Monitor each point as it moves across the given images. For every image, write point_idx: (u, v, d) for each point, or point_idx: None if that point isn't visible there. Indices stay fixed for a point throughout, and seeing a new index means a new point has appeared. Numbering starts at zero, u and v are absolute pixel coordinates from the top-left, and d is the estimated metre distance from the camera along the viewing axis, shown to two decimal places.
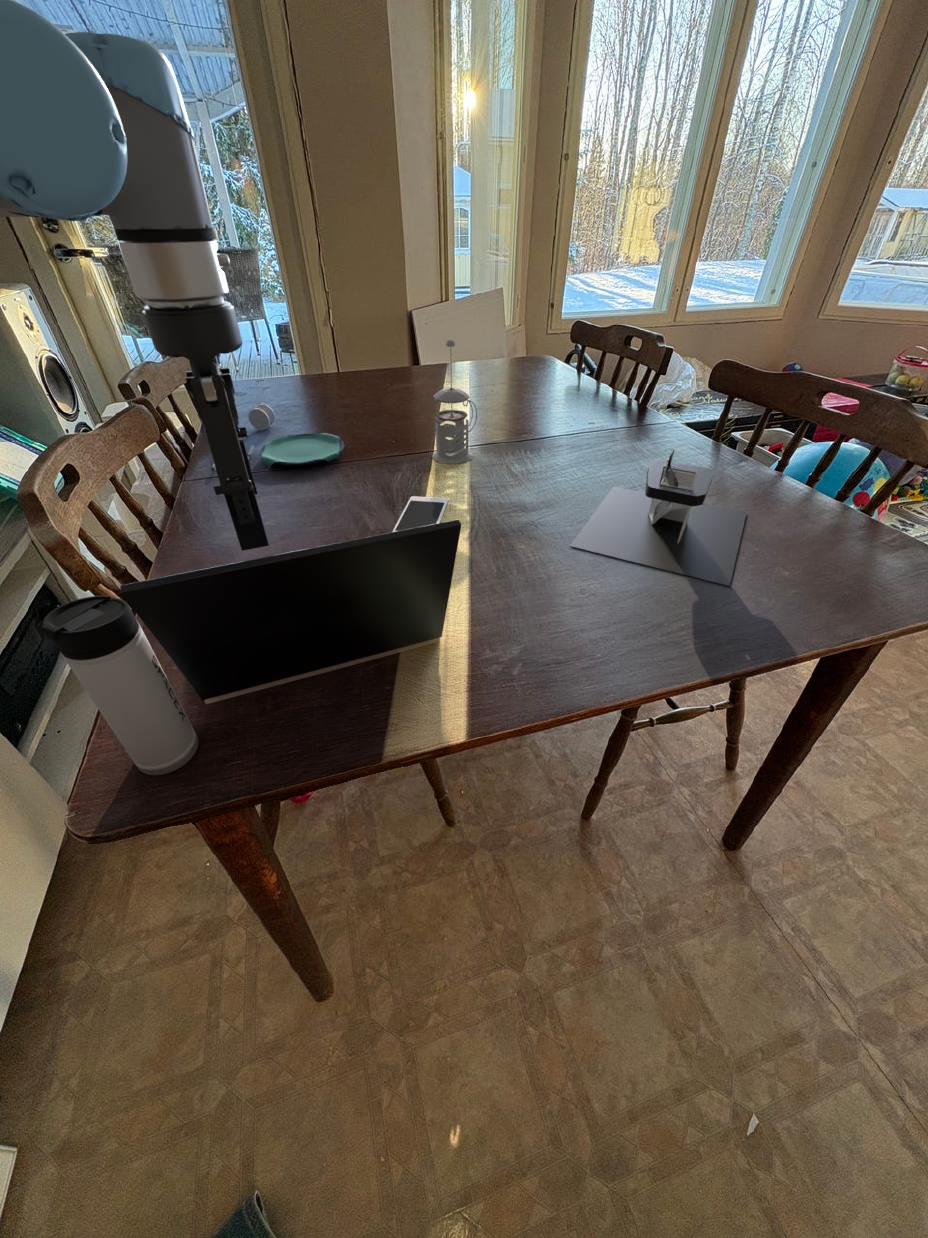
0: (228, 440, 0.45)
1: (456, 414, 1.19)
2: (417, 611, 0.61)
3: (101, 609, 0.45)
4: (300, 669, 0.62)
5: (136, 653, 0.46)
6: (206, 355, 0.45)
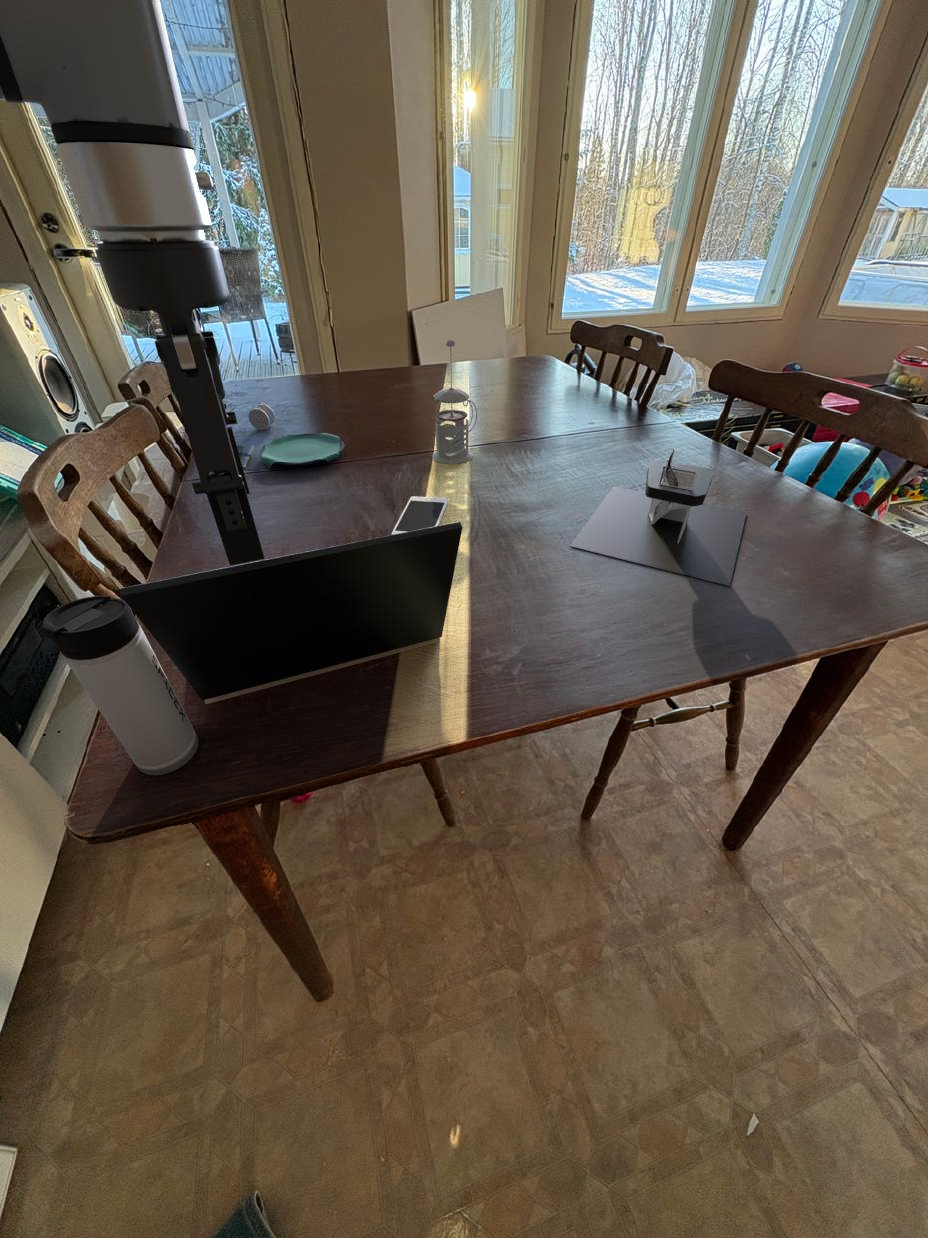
0: (211, 421, 0.34)
1: (456, 414, 1.19)
2: (417, 612, 0.61)
3: (101, 609, 0.45)
4: (300, 670, 0.62)
5: (136, 653, 0.46)
6: (181, 308, 0.34)
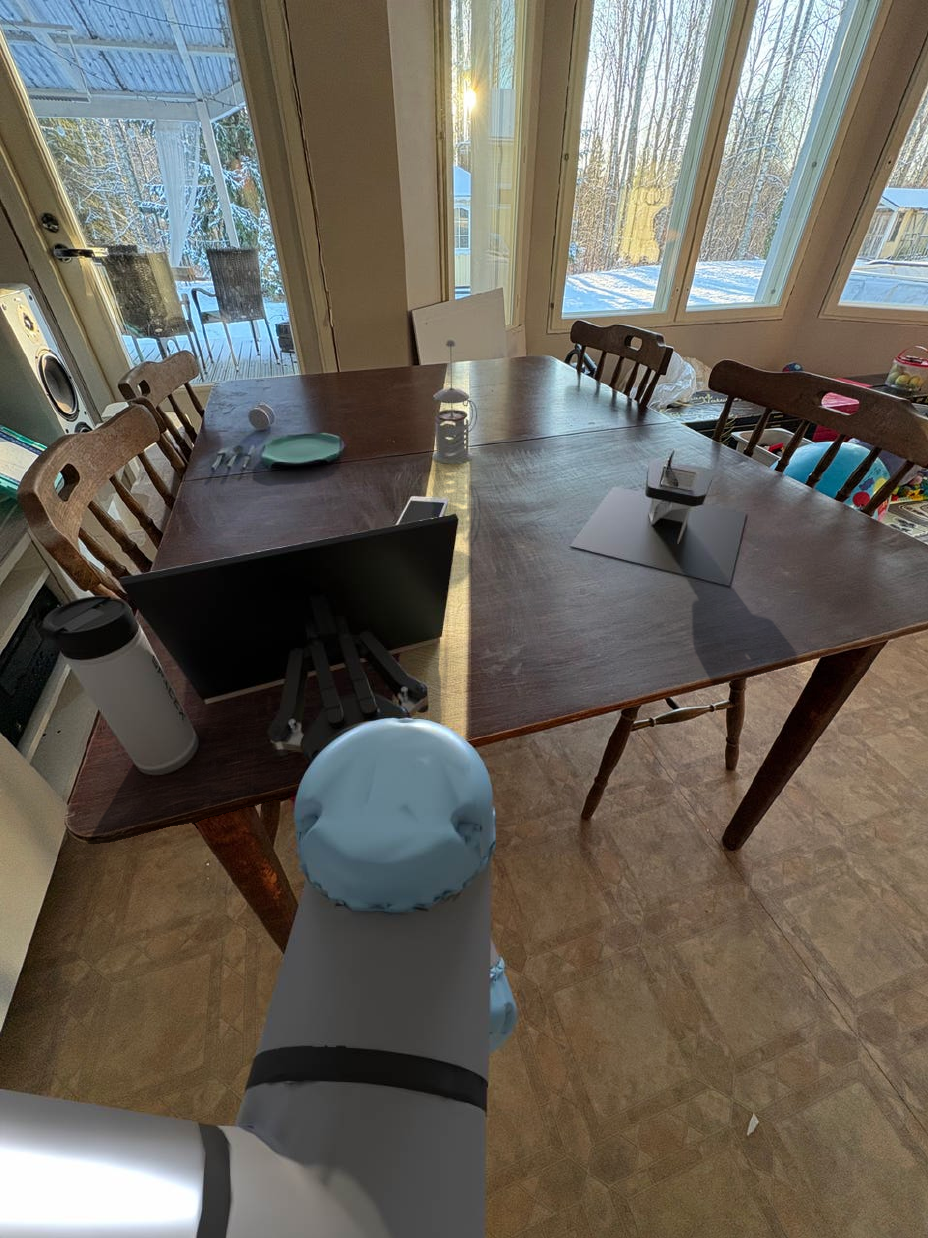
0: None
1: (456, 414, 1.19)
2: (416, 609, 0.61)
3: (101, 609, 0.45)
4: None
5: (136, 653, 0.46)
6: None
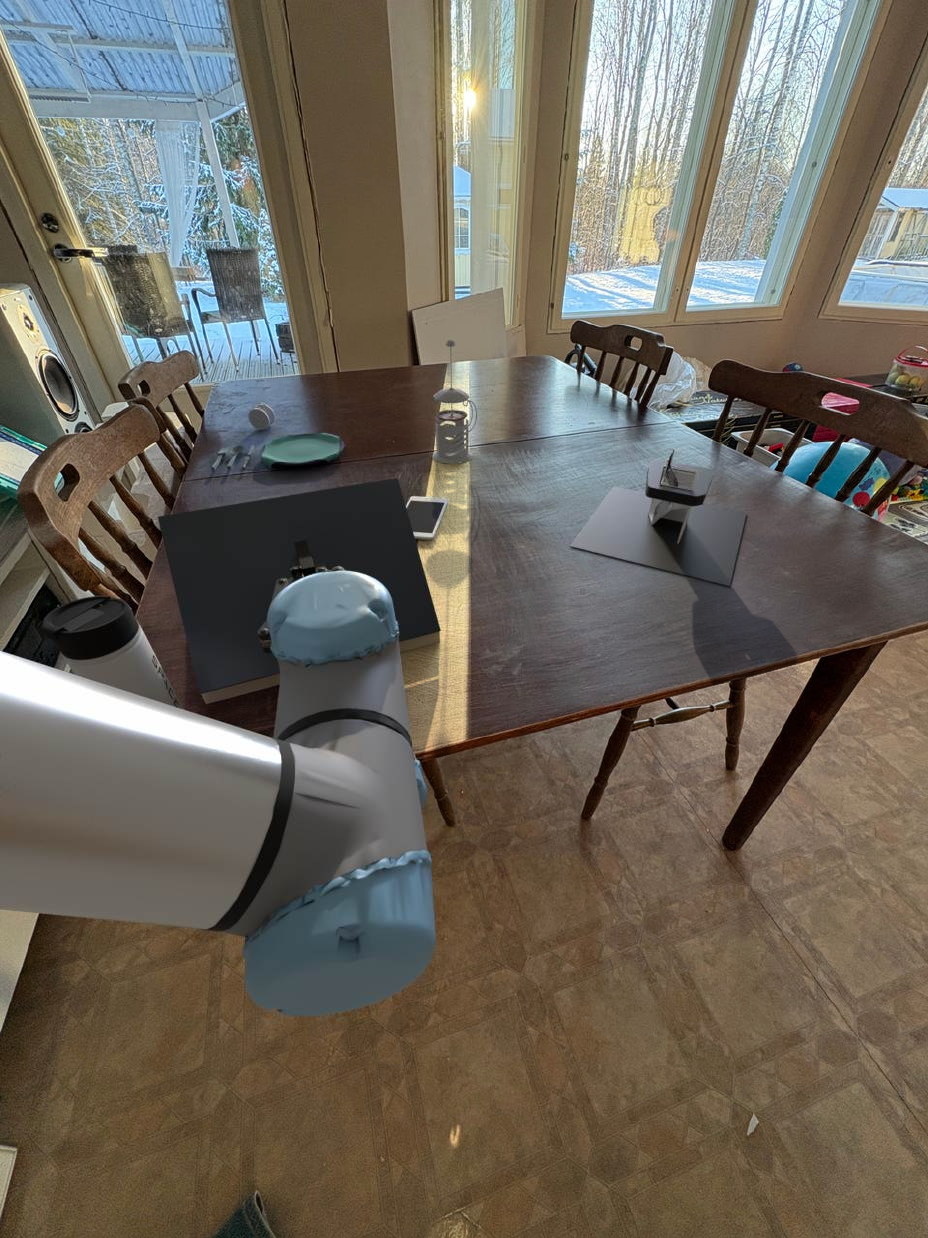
0: None
1: (456, 414, 1.19)
2: (397, 580, 0.68)
3: (101, 609, 0.45)
4: None
5: (136, 653, 0.46)
6: None
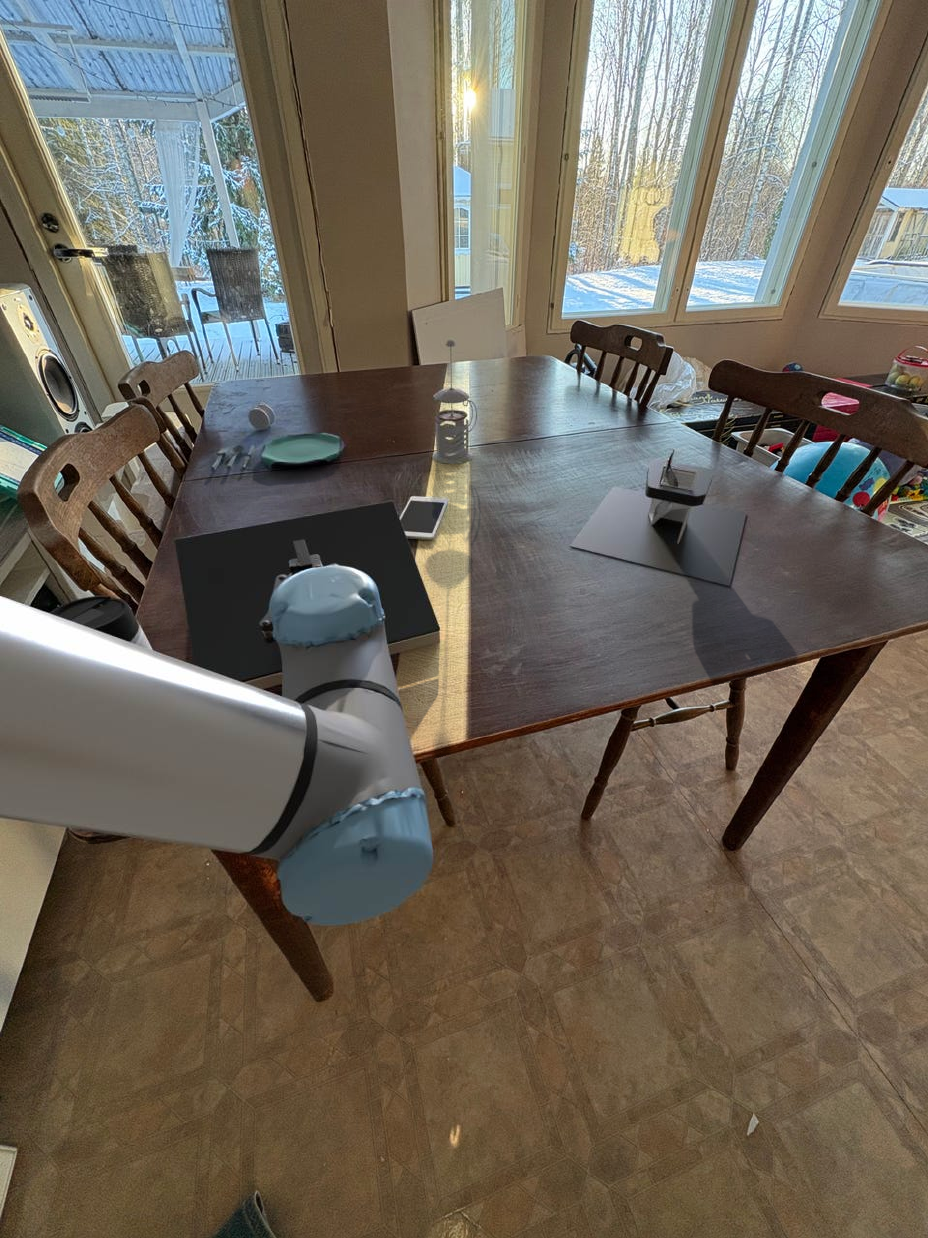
0: None
1: (456, 414, 1.19)
2: (395, 584, 0.70)
3: (101, 609, 0.45)
4: None
5: None
6: None
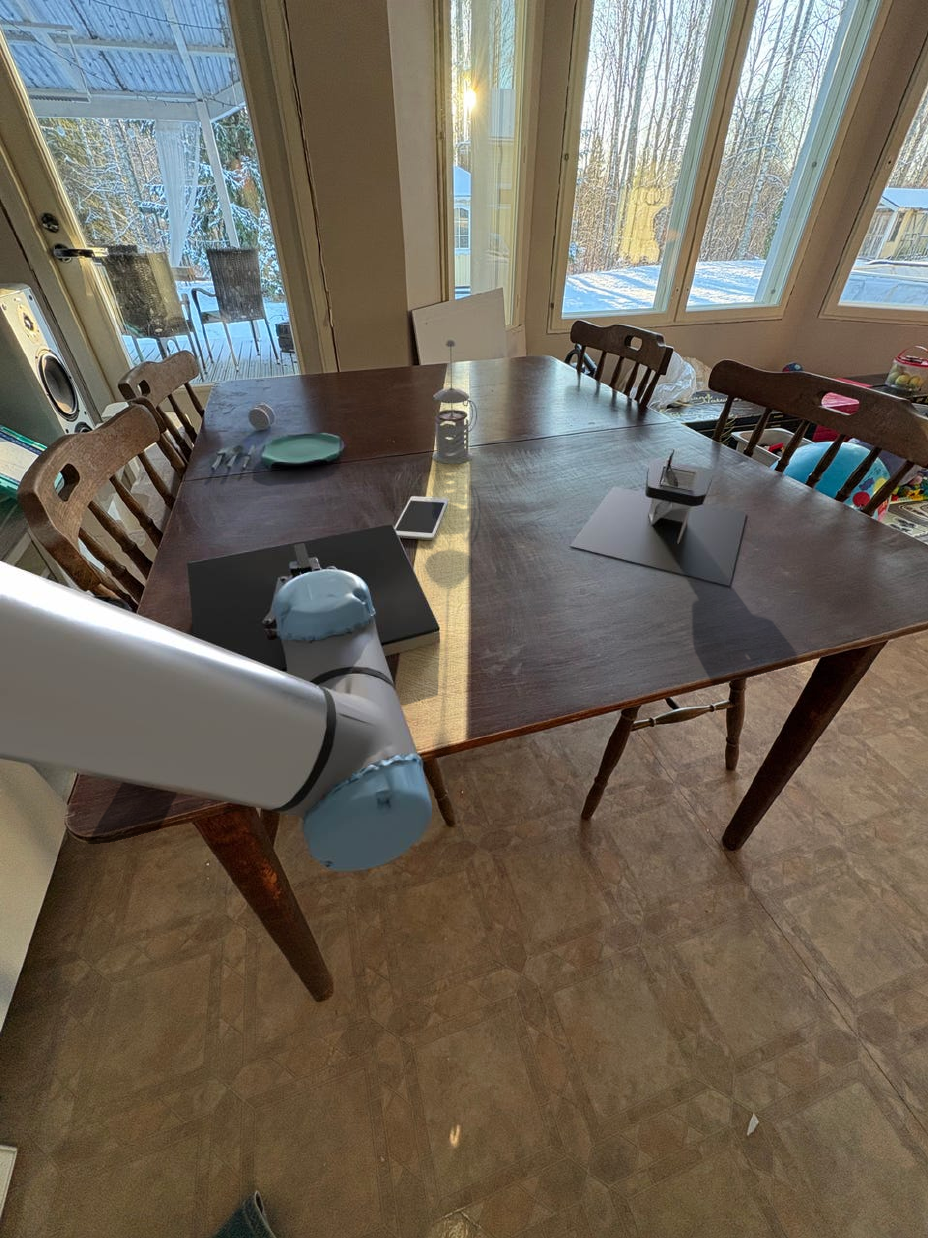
0: None
1: (456, 414, 1.19)
2: (394, 591, 0.72)
3: None
4: None
5: None
6: None
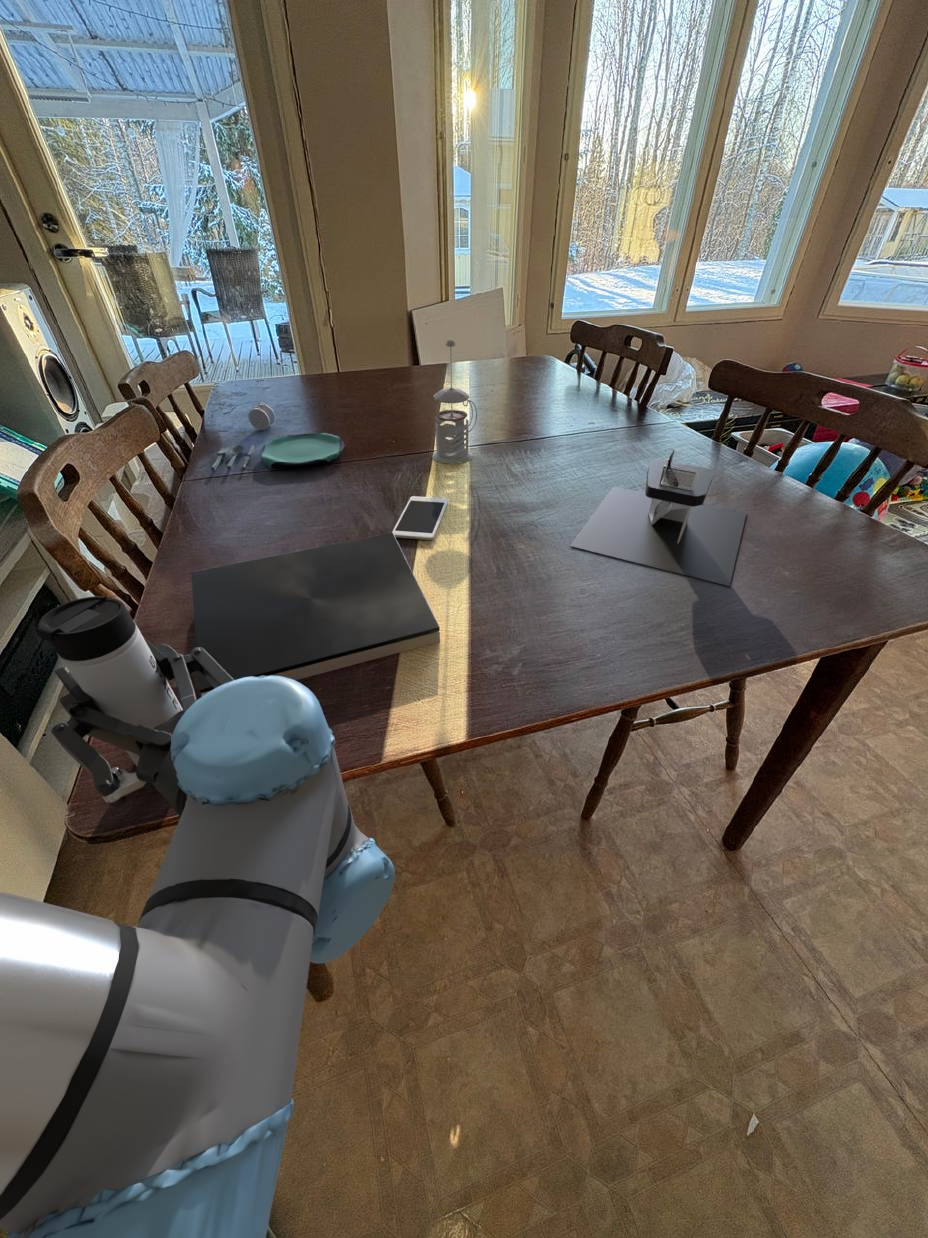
0: (83, 766, 0.42)
1: (456, 414, 1.19)
2: (394, 594, 0.72)
3: (97, 610, 0.45)
4: (297, 656, 0.64)
5: (133, 653, 0.46)
6: None
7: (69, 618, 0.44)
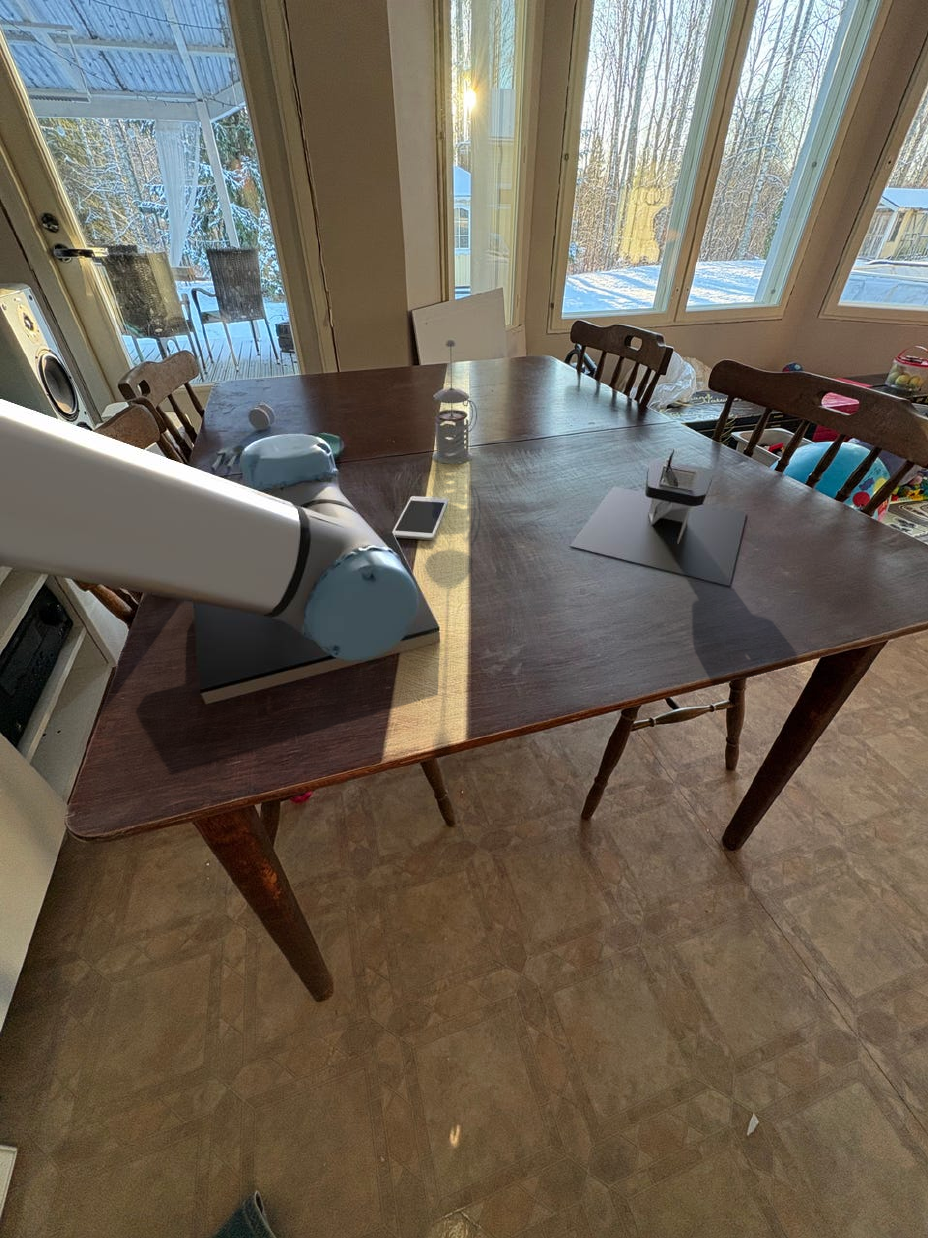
0: None
1: (456, 414, 1.19)
2: None
3: None
4: (297, 656, 0.64)
5: None
6: None
7: None
